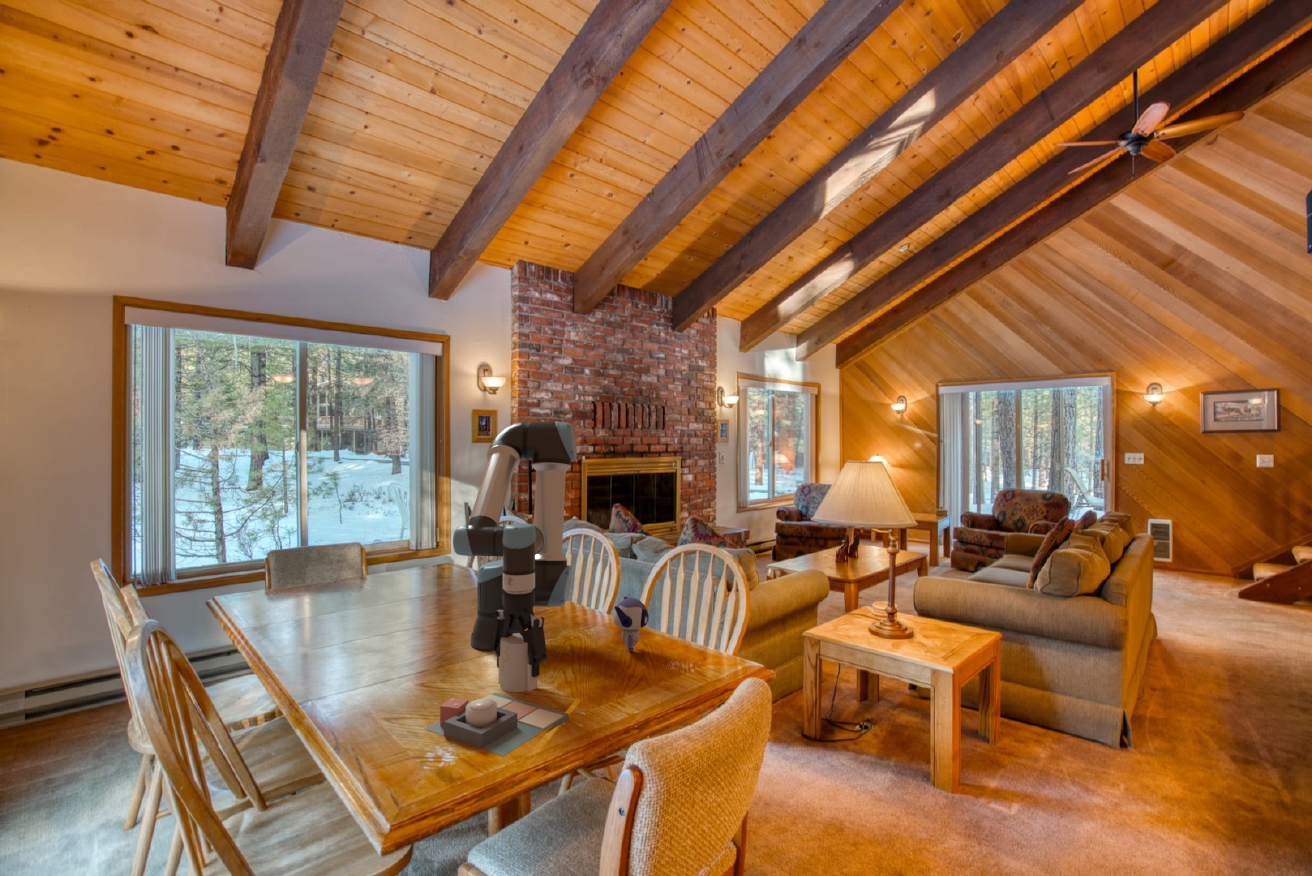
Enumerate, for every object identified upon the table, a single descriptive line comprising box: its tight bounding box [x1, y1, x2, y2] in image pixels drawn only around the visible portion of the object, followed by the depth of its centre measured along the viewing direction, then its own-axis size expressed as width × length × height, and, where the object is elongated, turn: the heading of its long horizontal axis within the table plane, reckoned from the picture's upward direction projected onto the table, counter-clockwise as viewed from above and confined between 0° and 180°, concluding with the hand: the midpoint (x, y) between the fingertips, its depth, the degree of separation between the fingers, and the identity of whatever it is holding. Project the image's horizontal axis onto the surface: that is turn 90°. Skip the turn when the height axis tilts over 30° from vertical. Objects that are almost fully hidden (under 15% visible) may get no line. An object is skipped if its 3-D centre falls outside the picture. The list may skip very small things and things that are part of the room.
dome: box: [466, 698, 497, 729], centre depth 124 cm, size 6×6×4 cm
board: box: [424, 692, 570, 757], centre depth 128 cm, size 21×20×4 cm
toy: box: [612, 596, 650, 653], centre depth 172 cm, size 11×10×15 cm
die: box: [439, 697, 469, 726], centre depth 127 cm, size 4×4×4 cm
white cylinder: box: [499, 633, 530, 693], centre depth 146 cm, size 8×8×12 cm
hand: (517, 685), depth 146 cm, fingers closed on white cylinder, 8 cm apart
